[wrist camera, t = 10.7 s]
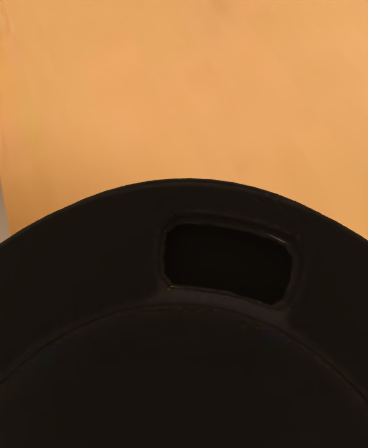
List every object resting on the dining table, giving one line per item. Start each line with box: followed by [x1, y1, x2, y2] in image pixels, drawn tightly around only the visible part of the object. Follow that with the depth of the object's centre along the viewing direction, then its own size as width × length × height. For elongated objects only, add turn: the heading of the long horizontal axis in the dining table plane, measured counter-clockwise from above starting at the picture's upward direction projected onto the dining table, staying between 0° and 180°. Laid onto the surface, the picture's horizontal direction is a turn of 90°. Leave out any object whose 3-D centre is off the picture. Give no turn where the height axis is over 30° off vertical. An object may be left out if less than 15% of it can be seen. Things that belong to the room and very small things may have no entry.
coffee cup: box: [0, 178, 368, 448], centre depth 10 cm, size 9×9×15 cm
